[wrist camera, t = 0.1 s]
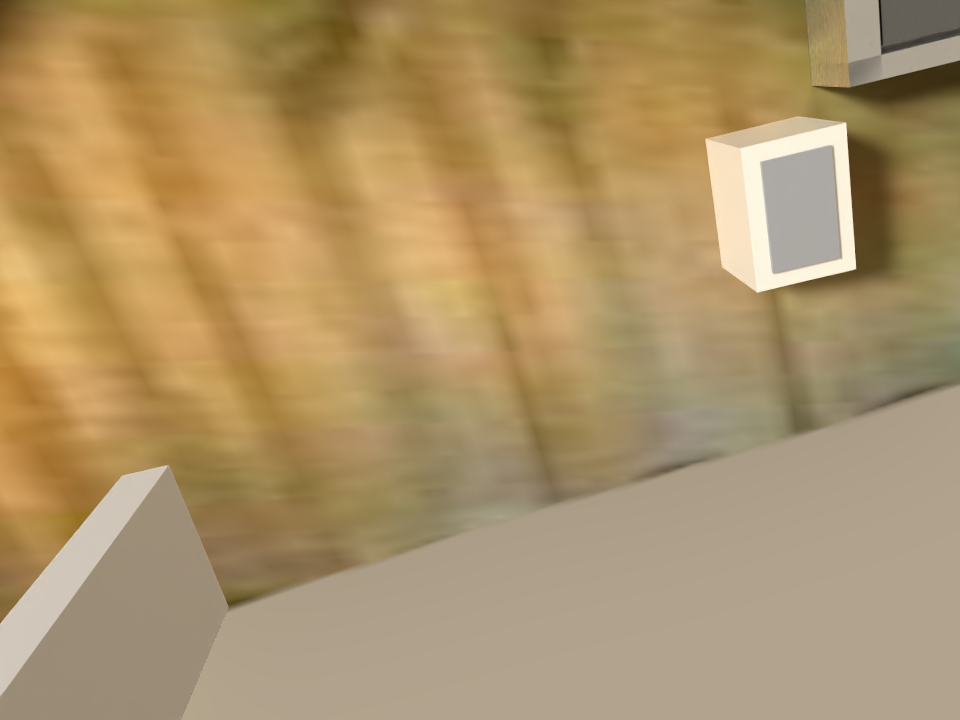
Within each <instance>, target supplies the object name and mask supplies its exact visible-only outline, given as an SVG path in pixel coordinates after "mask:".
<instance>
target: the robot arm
mask: <svg viewBox="0 0 960 720" xmlns="http://www.w3.org/2000/svg"><path fill="white" fill-rule="evenodd" d="M227 609H228V605H227V602H226V600H225V597H224V595H223V593H222V590H221V588H220V585H219V583H218V581H217V578H216V576H215V574H214V571H213V569H212V566H211V564H210V562H209V559H208V557H207V555H206V552H205V550H204V547H203V545H202V543H201V540H200V538H199V535H198V533H197V531H196V528H195V526H194V524H193V521H192V519H191V516H190V514H189V512H188V509H187V507H186V505H185V502H184V500H183V497H182V495H181V493H180V490H179V488H178V485H177V483H176V481H175V478H174V476H173V474H172V471H171V469H170V466H169V465H167V466H162V467H158V468H154V469H149V470H145V471H140V472H136V473H132V474H127V475H123V476H122V477H121V478H120V479H119V480H118V481H117V483H116V484H115V485H114V486H113V488H112V489H111V490H110V491H109V492H108V494H107V495H106V496H105V497H104V498H103V500H102V501H101V502H100V503H99V505H98V506H97V507H96V508H95V509H94V511H93V512H92V513H91V514H90V515H89V517H88V518H87V519H86V520H85V522H84V523H83V524H82V525H81V526H80V528H79V529H78V530H77V531H76V532H75V534H74V535H73V536H72V537H71V539H70V540H69V541H68V542H67V543H66V545H65V546H64V547H63V548H62V549H61V551H60V552H59V553H58V554H57V556H56V557H55V558H54V559H53V560H52V562H51V563H50V564H49V565H48V566H47V568H46V569H45V570H44V571H43V573H42V574H41V575H40V576H39V577H38V579H37V580H36V581H35V582H34V583H33V585H32V586H31V587H30V588H29V589H28V591H27V592H26V593H25V594H24V596H23V597H22V598H21V599H20V600H19V602H18V603H17V604H16V605H15V606H14V608H13V609H12V610H11V611H10V613H9V614H8V615H7V616H6V617H5V619H4V620H3V621H2V622H1V623H0V720H181V718H182V716H183V714H184V711H185V709H186V707H187V704H188V702H189V699H190V697H191V695H192V692H193V690H194V688H195V685H196V683H197V681H198V678H199V676H200V673H201V671H202V669H203V666H204V664H205V662H206V659H207V657H208V654H209V652H210V649H211V647H212V645H213V642H214V640H215V638H216V635H217V633H218V631H219V628H220V626H221V624H222V621H223V619H224V617H225V614H226V612H227Z"/></svg>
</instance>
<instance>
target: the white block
mask: <svg viewBox="0 0 960 720" xmlns="http://www.w3.org/2000/svg"><path fill="white" fill-rule="evenodd" d="M706 147H707V154H708V162H709V169H710V177H711V185H712V192H713V200H714V208H715V215H716V223H717V231H718V238H719V246H720V254H721V261H722V267H723V268H724V269H726V270H727V271H728V272H730V273H731V274H733V275H734V276H735V277H737V278H738V279H739V280H741V281H742V282H744V283H745V284H746V285H748V286H749V287H750V288H752V289H753V290H755V291H756V292H761V291H765V290H769V289H774V288H778V287H782V286H786V285H791V284H795V283H799V282H804V281H808V280H812V279H816V278H821V277H825V276H829V275H833V274H838V273H842V272H846V271H851V270H855V269H856V260H855V245H854V231H853V216H852V202H851V187H850V173H849V158H848V144H847V130H846V123H845V122H837V121H829V120H822V119H814V118H806V117H799V116H798V117H794V118H789V119H785V120H781V121H777V122H773V123H769V124H765V125H761V126H757V127H753V128H749V129H745V130H740V131H736V132H732V133H728V134H724V135H720V136H716V137H712V138H708V139H706Z"/></svg>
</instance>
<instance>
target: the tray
mask: <svg viewBox="0 0 960 720" xmlns="http://www.w3.org/2000/svg"><path fill="white" fill-rule="evenodd" d="M805 9H806V21H807V34H808V46H809V58H810V70H811V82H812V86H829V87H853V86H857V85H861V84H866V83H870V82H874V81H878V80H882V79H886V78H890V77H894V76H898V75H902V74H906V73H910V72H914V71H918V70H923V69H927V68H931V67H935V66H939V65H943V64H947V63H951V62H955V61H959V60H960V0H805Z"/></svg>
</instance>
